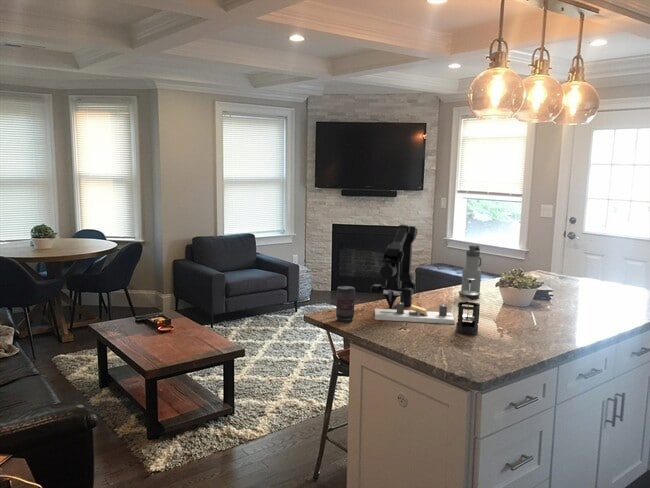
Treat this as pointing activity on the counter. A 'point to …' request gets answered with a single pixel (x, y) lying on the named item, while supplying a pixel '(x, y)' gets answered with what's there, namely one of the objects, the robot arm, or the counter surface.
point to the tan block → (418, 309)
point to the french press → (468, 327)
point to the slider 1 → (400, 307)
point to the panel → (413, 316)
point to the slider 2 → (443, 310)
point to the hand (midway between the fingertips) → (391, 308)
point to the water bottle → (472, 270)
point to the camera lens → (345, 304)
